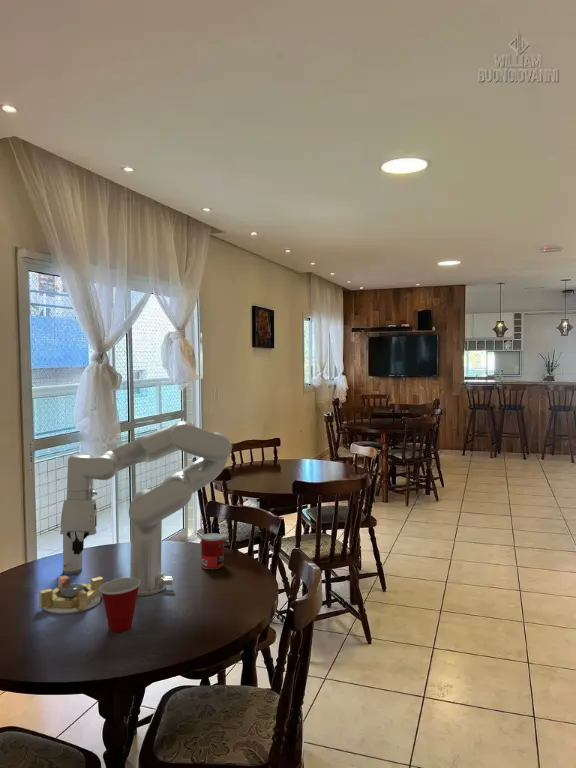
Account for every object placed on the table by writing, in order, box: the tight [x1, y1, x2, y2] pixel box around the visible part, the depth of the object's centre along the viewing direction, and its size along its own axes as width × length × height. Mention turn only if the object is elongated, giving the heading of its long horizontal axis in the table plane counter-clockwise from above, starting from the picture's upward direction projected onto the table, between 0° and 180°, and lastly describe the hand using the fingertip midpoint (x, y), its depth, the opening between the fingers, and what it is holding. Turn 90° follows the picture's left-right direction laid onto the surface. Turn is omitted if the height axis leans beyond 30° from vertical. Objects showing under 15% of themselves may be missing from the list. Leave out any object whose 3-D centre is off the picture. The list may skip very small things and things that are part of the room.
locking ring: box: [38, 574, 104, 610], centre depth 161 cm, size 14×14×4 cm
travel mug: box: [62, 532, 83, 575], centre depth 187 cm, size 6×7×20 cm
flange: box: [42, 583, 102, 616], centre depth 161 cm, size 16×16×4 cm
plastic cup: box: [99, 577, 141, 633], centre depth 146 cm, size 11×11×12 cm
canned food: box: [200, 532, 225, 568], centre depth 194 cm, size 8×8×11 cm
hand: (77, 552), depth 169 cm, fingers closed
